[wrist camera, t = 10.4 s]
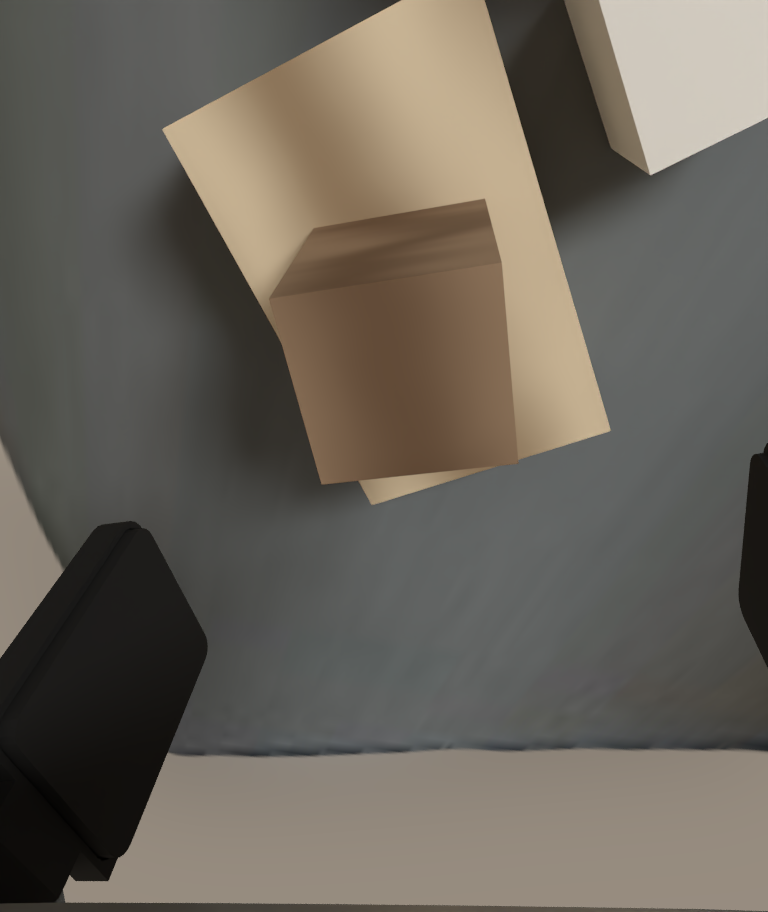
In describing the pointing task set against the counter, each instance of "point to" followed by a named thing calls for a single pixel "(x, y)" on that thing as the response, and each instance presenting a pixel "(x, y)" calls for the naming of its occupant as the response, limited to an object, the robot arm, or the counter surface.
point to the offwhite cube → (673, 72)
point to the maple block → (400, 186)
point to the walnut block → (400, 344)
